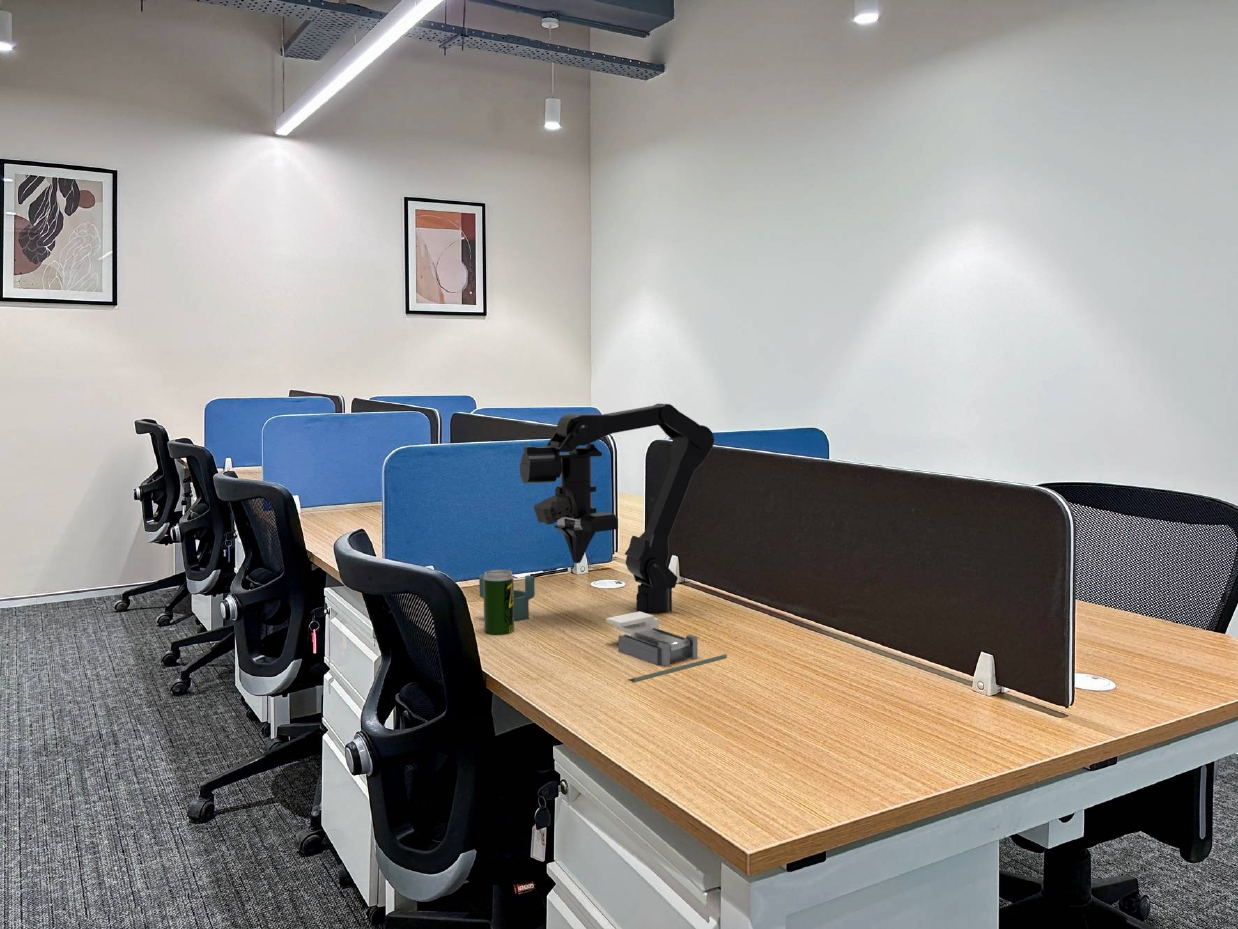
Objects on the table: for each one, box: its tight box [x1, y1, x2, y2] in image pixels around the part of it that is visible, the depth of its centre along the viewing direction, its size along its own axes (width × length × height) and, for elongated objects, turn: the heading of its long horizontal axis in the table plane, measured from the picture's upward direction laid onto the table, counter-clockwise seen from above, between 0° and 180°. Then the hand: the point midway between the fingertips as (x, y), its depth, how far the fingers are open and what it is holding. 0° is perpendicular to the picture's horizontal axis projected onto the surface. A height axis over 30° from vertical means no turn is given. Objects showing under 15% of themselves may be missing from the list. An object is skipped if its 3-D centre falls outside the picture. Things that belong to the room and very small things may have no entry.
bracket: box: [478, 573, 536, 623], centre depth 181 cm, size 9×9×9 cm
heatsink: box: [617, 628, 698, 668], centre depth 154 cm, size 8×11×4 cm
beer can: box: [483, 569, 515, 636], centre depth 168 cm, size 5×5×12 cm
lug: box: [605, 611, 660, 637], centre depth 161 cm, size 8×4×4 cm, turn 128°
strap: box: [616, 624, 690, 652], centre depth 155 cm, size 4×15×1 cm, turn 38°
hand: (577, 562), depth 176 cm, fingers closed
